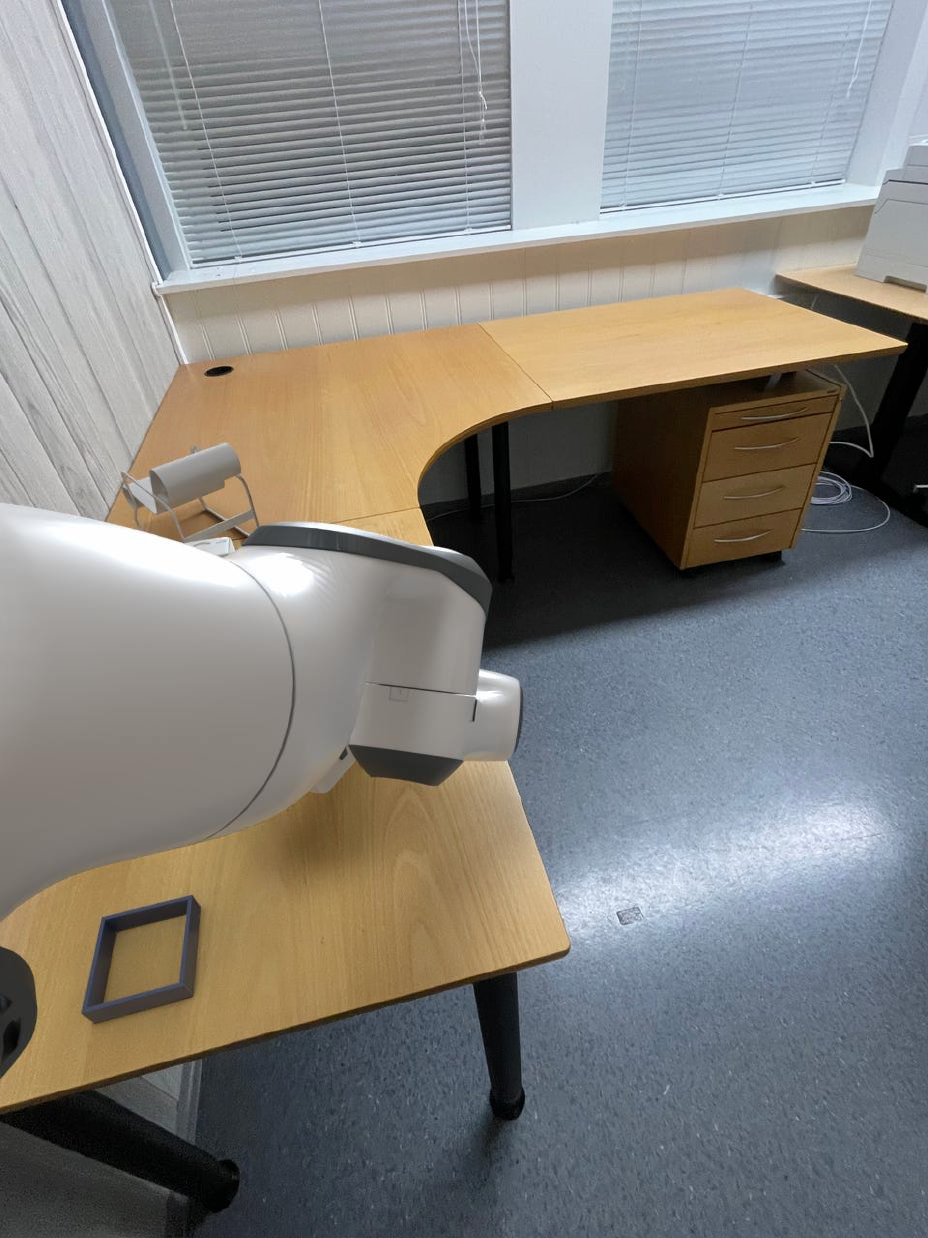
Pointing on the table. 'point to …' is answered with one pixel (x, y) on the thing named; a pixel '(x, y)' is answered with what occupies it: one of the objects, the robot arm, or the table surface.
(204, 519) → the table surface
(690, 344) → the table surface
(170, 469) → the chair
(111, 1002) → the blue square tray
